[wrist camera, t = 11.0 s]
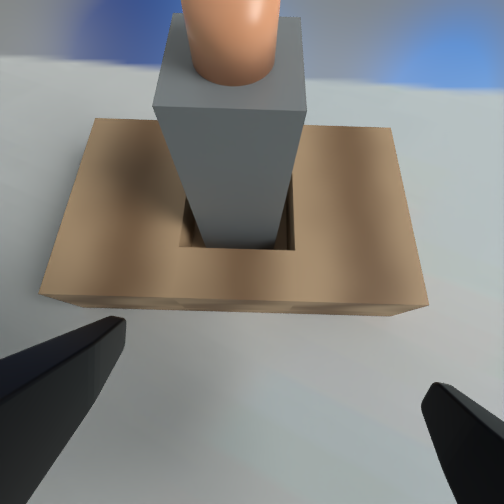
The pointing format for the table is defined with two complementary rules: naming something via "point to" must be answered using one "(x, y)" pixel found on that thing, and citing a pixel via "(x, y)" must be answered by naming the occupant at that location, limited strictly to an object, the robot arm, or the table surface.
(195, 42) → the gray square post
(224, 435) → the table surface
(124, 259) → the wooden block with hole
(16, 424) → the robot arm
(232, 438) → the table surface
